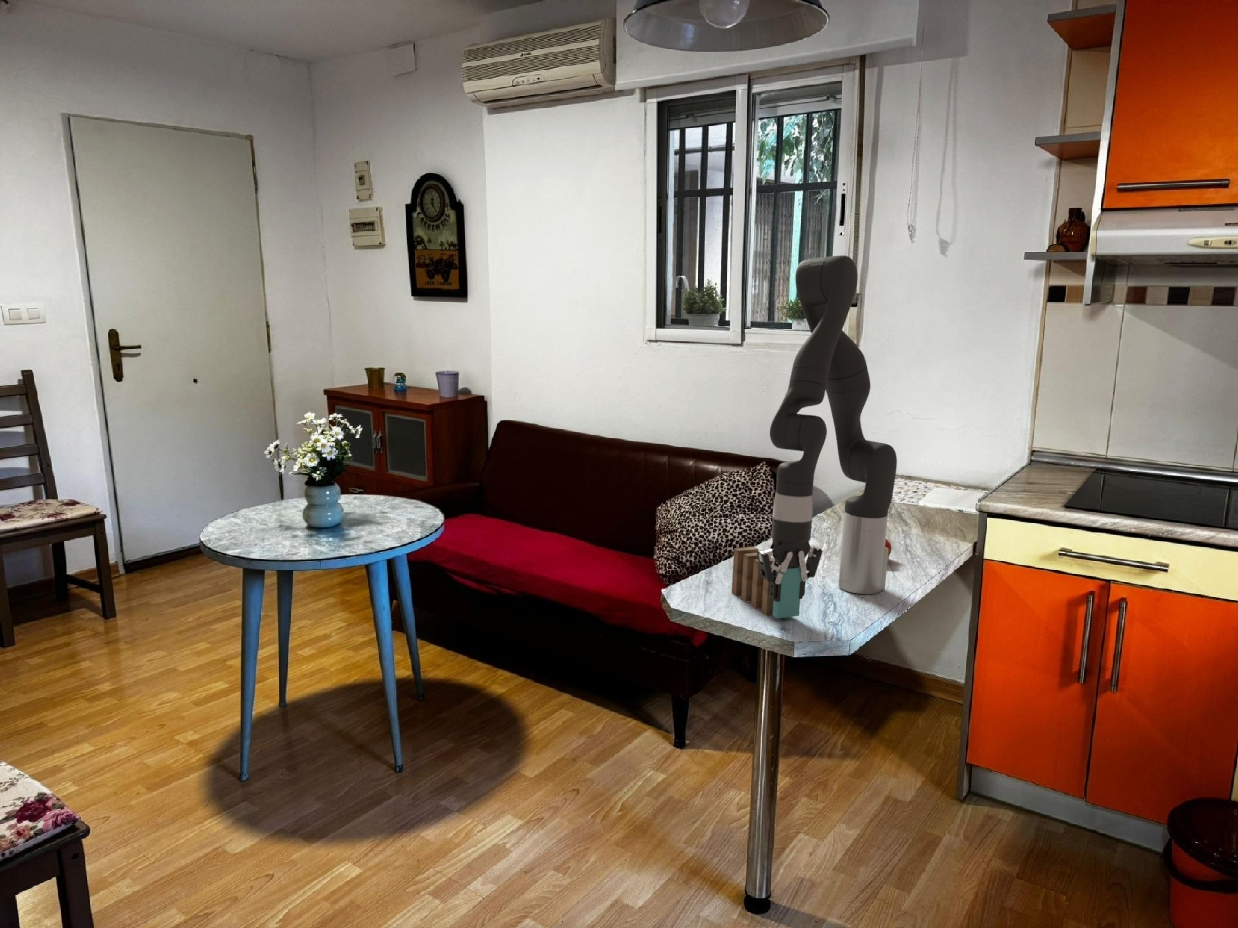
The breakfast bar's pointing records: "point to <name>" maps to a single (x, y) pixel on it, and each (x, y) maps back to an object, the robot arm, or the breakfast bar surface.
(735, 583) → the domino
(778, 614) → the teal domino
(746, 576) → the domino
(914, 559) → the breakfast bar surface
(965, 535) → the breakfast bar surface
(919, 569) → the breakfast bar surface
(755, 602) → the domino
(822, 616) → the breakfast bar surface
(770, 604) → the domino
